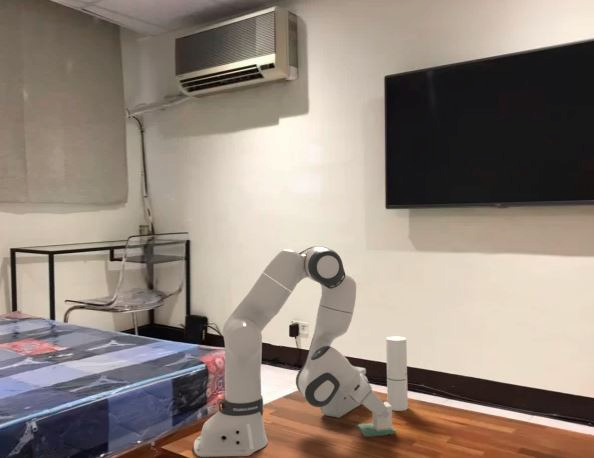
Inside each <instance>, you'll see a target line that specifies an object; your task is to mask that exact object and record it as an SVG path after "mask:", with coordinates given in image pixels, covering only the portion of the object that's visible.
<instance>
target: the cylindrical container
mask: <svg viewBox="0 0 594 458" xmlns="http://www.w3.org/2000/svg"><path fill="white" fill-rule="evenodd" d="M385 342H386V344H385V345H386V346H385V348H386V351H385V352H386V384H387V385H386V388H387V389H386V393H387V399H386V400H387V402H388V403H389V404H390V405H391V406H392V411H393V412H394V411H396V412H401V411H402V412H403V411H406V410H407V409H409V408H408V406H409V404H408V401H409V400H408V366H407V365H408V361H407V359H408V357H407V355H408V353H407V351H408V350H407V337H404V336H399V335H397V336H395V335H394V336H387V337H386V339H385Z"/></svg>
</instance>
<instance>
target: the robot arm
mask: <svg viewBox="0 0 594 458" xmlns="http://www.w3.org/2000/svg"><path fill="white" fill-rule="evenodd" d="M306 278H309V279H310V280H311V281H314V282H316V283H318V284H320V286H321V296H320V300H319V304H318V308H317V314H316V320H315V326H314V327H315V328H314V332H313V335H312V338H311V342H310V346H309V348H308V353H307V356H306V359H305V362H304V363H303V365H302V367H301V368H300V369H299V371H298V372H297V373H296V374H297V375H296V377H295V386H296V389H297V390H298V392H300V394H301V395H302V396H303V397H304V399H305V400H306V402H307V403H308V404H309V405H310V406H312V407H314V408H320V407H323V406H325V405H327V404H328V403H329V402H330V401H331V400H332V398H333V397H334V396H335V394H336V392H337V391H338V389H339V390H340V391H341V392H342V393H343V394H344V395H345V396H346V397H347V398H349V399H352V400H354V401H356V402H357V403H361V405H362V406H363V407H365V408H366V409H368V410H369V411H371V412H373V413H374V414H376V415H377V416H379V417H380V416H382V415H383V416H384V417H385V418H387V417H388V416H389V413H388V412H387V411H386V410H387V408H386V406H385V405H384V403H383V402H382V401H383V400H381V398H380V397H379V396H378V395H377V394H376V393H375V391H374V390H373V388H372V385H370V383H369V380H368V377H367V376H366V374H362V373H361V372H360V371H359V370H358V369H357V368H356V367H357V366H355V365H352V364H351V363H350V361H349V359H348V358H346V357H345V355H343V354H342V353H341V352H340V351H339V350H337V349H336V348H335V347H333V346H331V345H332V343H333V342H334V340H336V339H337V338H340V337H342V336H343V335H345V334H346V333H347V331H348V330H349V327H350V325H351V323H352V319H353V315H354V310H355V306H356V305H355V304H356V298H357V283H356V281H355V280H354V278H353V277H351V276H350V275H348V274H346V272H345V269H344V264H343V260H342V258H341V256H340V255H339V254H338V253H337V252H336V251H335V250H333V249H331V248H330V247H325V246H312V247H308V248H306V249H303V250H302V251H300V252H298V251H296V250H292V249H288V248H287V249H282V250H281V251H280V252H278V253H277V254H276V255H275V256H274V258H273V259H272V260H271V261H270V262H269V263H268V265H266V267H265V268H264V269H263V271H262V273H261V274H260V276H259V277H258V279H257V280H256V282H254V284H253V286H252V287H251V289H250V290H249V292H248V293H247V295H246V296H245V297H244V298H243V299H242V300H241V302H240V303H239V304H238V306H236V307H235V309H234V310H233V312H232V313H231V314H230V316H229V317H228V318H227V320H226V321H225V323H224V325H223V328H222V336H223V341H224V392H225V393H224V395H225V396H224V397H222V396H218V397H217V398H216V404H217V405H218V411H217V412H216V413H215V414H214V415H212V416H211V417H209V419H207V420H206V421H205V422H204V424H203V425H202V428H201V431H200V435H199V436H198V437H197V438H195V440H194V443H193V452H194V454H195V455H196V456H197V457H201V458H202V457H203V458H204V457H205V458H206V457H207V458H209V457H211V458H213V457H247V456H250V455H253V453H255V452H256V451H259V450H261V449H263V448H264V447H266V446H267V445H268V442H269V440H268V438H267V434H266V431H265V424H264V420H263V419H264V418H263V417H264V397H263V395H262V354H263V353H262V352H263V349H262V348H263V334H262V331H263V330H264V329H265V328H266V327H267V326H268V324H269V323H270V322H271V321H272V319H273V318H274V317H275V316H276V315H278V314H279V313H280V311H281V309H282V308H283V306H284V305H285V304H286V302H287V301H288V299H289V297H290V296H291V294H292V293H293V292H294V290H295V288H296V286H297V285H298V284H299V283H300V282H301V281H302V280H304V279H306Z"/></svg>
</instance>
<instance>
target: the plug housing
mask: <svg viewBox="0 0 594 458" xmlns="http://www.w3.org/2000/svg"><path fill="white" fill-rule="evenodd" d="M381 401H382V402H383V403H384V405H385V406H386V408H387V410H386V411H387V412H388V413H389V416H388V417H387V418H385V417H384V416H383V415H382V416H380V417H379V416H377V415H376V414H374V413H373V412H372V411H371V412H372V423H373V425H374V426H375V428H376V429H388V428H392V427H393V410H392V406H391V405H390V404H389V403H388V401H384V400H381Z"/></svg>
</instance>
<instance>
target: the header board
mask: <svg viewBox="0 0 594 458" xmlns="http://www.w3.org/2000/svg"><path fill="white" fill-rule="evenodd" d="M357 428H358V430H359V431H360V433H362V435H363V436H364V437H365V438H368V437H377V436H379V437H380V436H387V435H388V434H390V435H396V433H397V432H396V431H397V430H395V428H394V427H393V426H392V428H388V429H376V428H375V426H374V425H373V422H371V423H369V422H368V423H361V424H357ZM388 436H389V435H388Z"/></svg>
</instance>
